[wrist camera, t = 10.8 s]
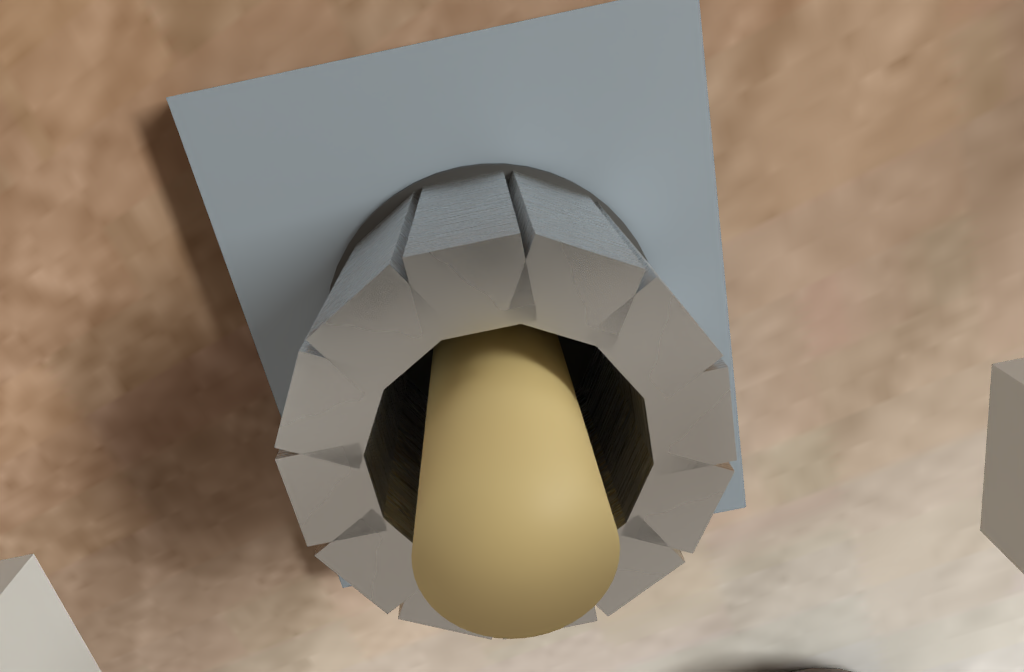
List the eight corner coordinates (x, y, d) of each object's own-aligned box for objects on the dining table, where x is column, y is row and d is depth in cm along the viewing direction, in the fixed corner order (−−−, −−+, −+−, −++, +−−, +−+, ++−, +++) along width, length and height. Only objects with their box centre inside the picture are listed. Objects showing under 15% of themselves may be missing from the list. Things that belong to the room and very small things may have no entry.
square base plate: (184, 93, 18) (-142, 158, 8) (683, -14, 17) (941, -75, 8) (348, 561, 23) (265, 929, 13) (732, 484, 23) (923, 804, 13)
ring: (295, 213, 17) (214, 296, 12) (632, 143, 17) (711, 193, 12) (384, 496, 20) (353, 668, 15) (671, 438, 20) (749, 590, 15)
